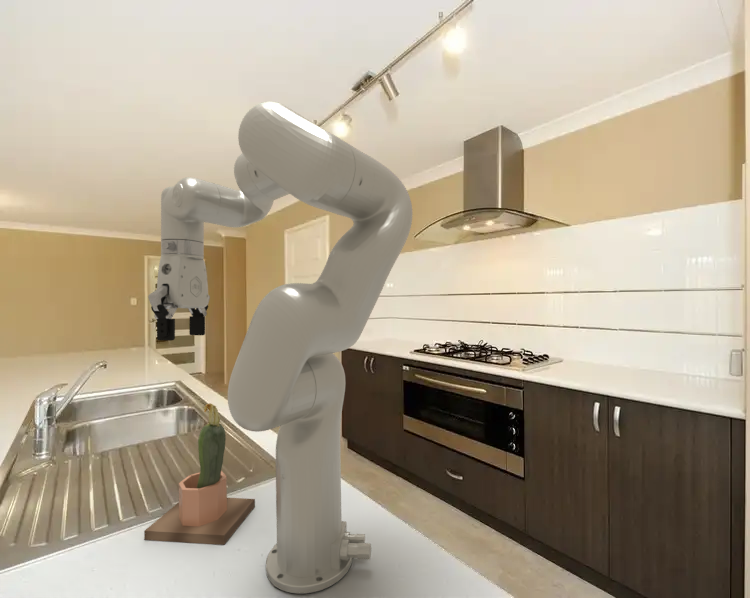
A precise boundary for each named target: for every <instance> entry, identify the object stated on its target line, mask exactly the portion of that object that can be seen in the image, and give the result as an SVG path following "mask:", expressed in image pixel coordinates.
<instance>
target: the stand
mask: <svg viewBox="0 0 750 598" xmlns="http://www.w3.org/2000/svg"><path fill="white" fill-rule="evenodd" d="M255 507H256V498H247V497H246V498H245V497H244V498H243V497H242V498H240V497H227V510H226V511H225V513H224V514H223V515H222V516H221V517H220V518H219V519H218V520H216V521H213V522H210V523H207V524H205V525H202V526H183V525H182V523H181V520H180V518H179V501H178V502H177V503H176V504H174V505H173V506H172V507H171V508H169V510H168V511H166V512H165V513H164V514H162V516H159V518H158V519H157V520H155V521H154V522H153V523H152V524H150V525H149V526H148V527H147V528H146V529H145V530H144V531H143V532H144V533H143V536H144V537H143V538H144V541H153V542H154V541H157V542H173V543H187V544H188V543H189V544H204V545H206V544H207V545H217V546H218V545H223V546H224V545H225V544H226V543H227V542H228V541H229V540H230V538H231V537H232V536H233V535H234V534H235V532H236V531H237V530H238V529H239V527H240V526H241V525H242V524H243V522H244V521H245V520H246V518H247V517H248V516H249V514H251V512H252V511H253V510H254V508H255Z"/></svg>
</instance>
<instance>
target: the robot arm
mask: <svg viewBox="0 0 750 598" xmlns="http://www.w3.org/2000/svg"><path fill="white" fill-rule="evenodd" d="M237 134H238V135H237V136H238V140H237V141H238V145H239V149H240V152H241V153H240V154H239V155H238V156H237V159H235V163H234V167H233V175H234V179H235V182H236V184H237V187H238V188H239V189H234V188H232V187H228V186H225V185H221V184H218V183H216V182H210V181H207V180H203V179H200V178H198V177H191V176H190V177H189V176H188V177H183V178H181V179H179V180H178V181H177V182H176V183H175V184H174V185H173V186H168V187H165V188H164V189H163V190H162V192H161V195H160V198H161V199H160V259H159V265H158V272H157V281H156V282H157V284H156V290H154V291H151V293H149V294H148V296H147V297H148V301H149V303H150V306H151V307H150V309H151V311H152V312H153V314H154V316H153V317H154V319H156V339H157V341H174V340H175V339H176V319H175V318H173V317H174V314H175V313H176V312H177V310H178V309H188V312H190V314H191V316H189V323H188V324H189V329H188V331H189V332H188V333H189V335H190V336H205V334H206V316H207V311H208V308H209V302H210V299H211V296H210V294H209V284H208V271H207V266H206V262H205V260H204V259H205V258H204V257H205V256H204V255H205V253H204V252H205V251H204V250H205V249H204V248H205V247H204V246H205V245H204V241H205V239H204V238H205V237H204V236H205V229H204V228H205V226H204V225H205V224H206V223H207V224H213V225H217V226H218V225H219V226H223V227H227V228H228V227H229V228H241V227H247V226H249V225H252V224H254V223H258V222H260V221H262V220H263V219H264V218H265V217H267V215H268V214H269V212H271V211H270V210H271V209H272V208H273V204H274V201H275V200H278V199H280V198H283V197H285V196H288V195H291V196H293V197H294V198H295V199H296V200H298V201H300V202H302V203H304V204H306V205H308V206H310V207H313V208H316V209H319V210H323V211H326V212H329V213H332V214H335V215H339V216H341V217H345V218H350V220H351V221H352V222H353V225H352V226H351V227H350V228H349V229H348V230H347V231H346V232H345V233H343V235H342V236H341V237H340V239H338V240H337V242H336V243H335V245H334V246H333V247H332V249H331V251H330V252H329V254H328V258H327V259H326V263H325V265H324V267H323V269H322V271H321V274H320V275H319V277H318V278H317V280H316V281H315V282H313V283H301V282H300V283H299V282H294V283H286V284H282V285H279V286H277V287H275V288H273V289H272V290H270V291H269V292H268V293H267V294H266V295H265V296H264V297H263V298H262V300H261V301H260V302H259V303H258V305H257V307H256V309H255V311H254V312H253V316H252V318H251V319H250V323H249V326H248V328H247V331H246V334H245V336H244V339H243V342H242V344H241V347H240V349H239V352H238V355H237V357H236V360H235V363H234V366H233V368H232V371H231V374H230V376H229V377H230V378H229V382H228V385H227V386H228V387H227V405H228V410H229V412H230V415H231V417H232V419H233V421H234V422H235V423H236V424H237V425H238V426H239V427H241V428H242V429H244V430H247V431H249V432H255V433H257V432H266V431H270V430H273V429H276V428H279V429H278V432H277V436H276V441H275V442H276V443H275V501H276V502H275V503H276V507H275V509H276V511H275V512H276V515H275V516H276V543H275V544H274V546H272V548H271V549H270V551H269V553H268V554H267V558H266V561H265V570H266V576H267V578H268V581H269V582H270V583H271V584H272V586H275V587H276V588H278V589H280V590H281V591H283V592H286V593H292V594H310V593H317V592H319V591H323V590H325V589H327V588H330V587H332V586H333V585H334V584H337V583H338V582H339V581H340V580H341V579H343V577H345V575H346V574H347V573H348V572H349V570H350V568H351V566H352V564H353V559H358V560H369V561H370V560H371V555H372V543H369V542H366V534H363V533H356V534H355V533H351V531H347V528H348V525H347V521H345V520H342V518H343V517H342V478H341V477H342V474H341V472H342V471H341V467H342V466H341V463H342V462H341V427H342V426H341V424H342V423H341V422H342V413H343V412H342V411H343V405H344V400H345V392H346V373H345V370H344V367H343V364H342V362H341V361H340V359H339V358H338V357H337V356H336V355H335V353H340V352H342V351H343V352H344V351H346V350H348V349H350V348H351V347H353V346H354V345H355V344H356V343H358V340H359V338H360V337H361V335H362V333H363V332H364V330H365V329H364V328H365V327H366V324H367V323H368V321H369V318H370V316H371V314H372V312H373V310H374V308H375V305H376V304H377V302H378V300H379V298H380V295H381V293H382V291H383V289H384V286H385V284H386V281H387V279H388V277H389V276H390V273H391V271H392V269H393V267H394V265H395V264H396V261H397V260H398V258H399V255H400V254H401V252H402V250H403V249H404V246H405V245H406V241H407V240H408V237H409V235H410V233H411V232H410V231H411V228H412V224H413V223H412V222H413V205H412V201H411V197H410V194H409V192H408V190H407V188H406V187H405V185H404V183H403V182H402V180H401V179H400V178H399V176H397V175H396V174H395V173H394V172H393V171H392V170H391V169H390V168H388V167H387V166H385V165H384V164H383V163H382V162H380V161H378V160H377V159H375V158H374V157H372V156H370V155H368V154H367V153H364V152H363V151H361V150H359V149H357V148H356V147H354V146H352V145H351V144H350V143H348V142H346V141H344V140H343V139H341V138H340V137H338V136H336V135H334V134H333V133H332V132H330V131H327V130H326V129H324V128H322V127H320V126H318V125H317V124H316V123H314V122H312V121H311V120H309V119H308V118H305V117H304V116H302V115H301V114H299V113H297V112H296V111H294V110H292V109H291V108H289V106H286V105H285V104H282V103H280V102H276V101H265V102H261V103H258V104H255V106H253V107H252V108H251V109H249V110H248V111H247V112H246V113H245V115H244V116H243V118H242V121H240V124H239V127H238V133H237Z"/></svg>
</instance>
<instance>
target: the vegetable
mask: <svg viewBox="0 0 750 598" xmlns="http://www.w3.org/2000/svg"><path fill="white" fill-rule="evenodd" d="M203 410H204V413H206V412H207V411H208V414H207V417H208V419H207V420H208V421H207V424H205V425H204V426H203V427H202V428H201V430H200V432H199V435H198V440H197V443H198V445H197V447H198V461H199V465H200V467H199V469H200V471H199V472H200V475H199V480H198V484H197V488H198V489H200V488H203V487H206V486H210V485H213V484H215V483H217V482H218V481H219V480H220V475H221V471H222V469H223V464H224V456H225V450H226V448H225V447H226V440H227V438H226V429H225V428H224V426H223V425H222V424H221V423H220V422H221V415H220V413H219V411H218V408H217V406H216V405H215V404H213V403H212V402H211V403H206V404H205V406H204V407H203Z"/></svg>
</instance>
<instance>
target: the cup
mask: <svg viewBox="0 0 750 598" xmlns="http://www.w3.org/2000/svg"><path fill="white" fill-rule="evenodd" d="M199 475H200V471H199V472H196V473H192V474H189V475H187V476H186V477H185V478H183V479H182V480H181V481H180V482H178V502H179V518H180V520H181V523H182V525H183V526H202V525H205V524H207V523H210V522H213V521H216V520H218V519H219V518H220V517H221V516H222V515H223V514H224V513H225V511H226V510H227V498H228V491H227V490H228V489H227V486H228V485H227V484H228V483H227V482H228V481H227V480H228V479H227V477H228V476H227V475H226V474H225V473H224V472H223V470H221V475H220V480H219V481H218V482H217V483H215V484H213V485H210V486H206V487H203V488H200V489H198V488H197V484H198V480H199Z"/></svg>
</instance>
